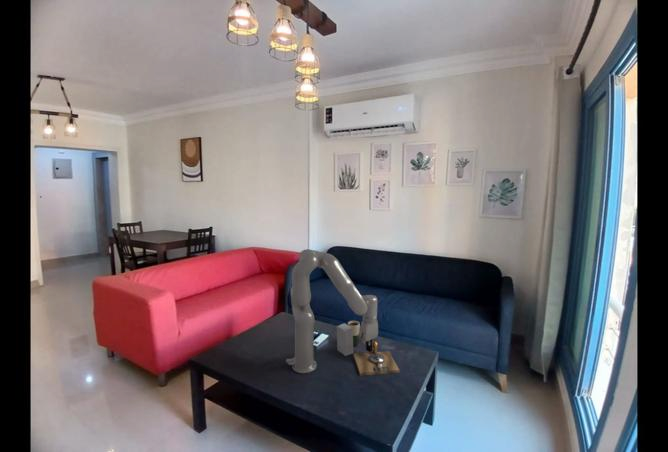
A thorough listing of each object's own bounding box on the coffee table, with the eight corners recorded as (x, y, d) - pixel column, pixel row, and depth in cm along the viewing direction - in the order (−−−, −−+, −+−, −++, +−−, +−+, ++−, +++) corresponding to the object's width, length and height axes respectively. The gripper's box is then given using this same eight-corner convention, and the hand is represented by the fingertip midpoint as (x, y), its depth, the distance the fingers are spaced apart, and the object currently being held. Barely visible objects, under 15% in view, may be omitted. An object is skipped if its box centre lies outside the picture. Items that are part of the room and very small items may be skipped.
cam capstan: (388, 370, 156) (388, 358, 155) (372, 370, 156) (372, 358, 155) (381, 351, 174) (381, 341, 173) (367, 351, 173) (367, 341, 173)
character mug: (363, 342, 187) (363, 321, 185) (361, 348, 180) (361, 326, 179) (345, 340, 190) (345, 319, 188) (343, 345, 183) (343, 324, 181)
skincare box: (353, 353, 175) (353, 328, 173) (344, 356, 172) (345, 330, 170) (344, 347, 182) (345, 322, 180) (336, 350, 178) (336, 325, 177)
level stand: (360, 375, 155) (360, 372, 154) (353, 356, 172) (353, 352, 172) (399, 372, 157) (399, 369, 157) (388, 353, 175) (388, 350, 174)
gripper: (374, 312, 176) (373, 343, 178) (354, 319, 166) (354, 352, 169) (384, 317, 170) (383, 349, 172) (365, 324, 160) (364, 358, 163)
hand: (369, 350), depth 170 cm, fingers closed
